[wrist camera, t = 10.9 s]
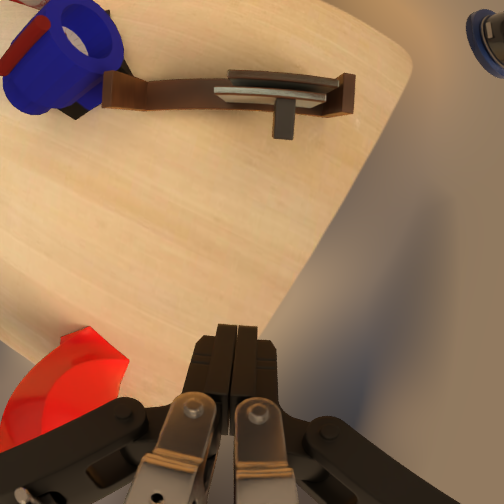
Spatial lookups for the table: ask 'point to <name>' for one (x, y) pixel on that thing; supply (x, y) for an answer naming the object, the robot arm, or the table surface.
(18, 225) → the table surface
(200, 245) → the table surface
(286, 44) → the table surface
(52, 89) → the alarm clock
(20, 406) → the vase
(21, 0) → the beverage can
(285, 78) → the window frame
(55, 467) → the robot arm
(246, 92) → the panel
